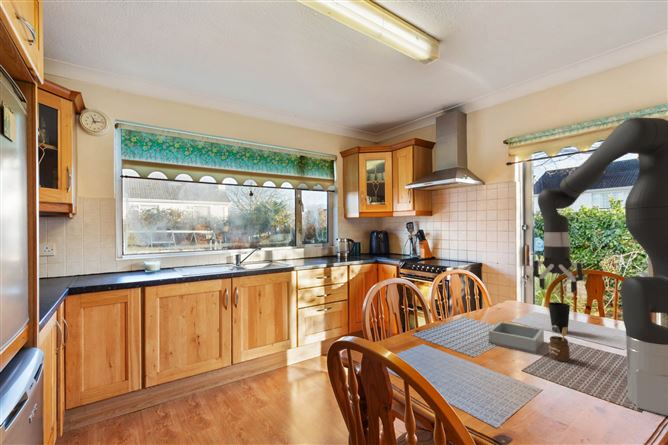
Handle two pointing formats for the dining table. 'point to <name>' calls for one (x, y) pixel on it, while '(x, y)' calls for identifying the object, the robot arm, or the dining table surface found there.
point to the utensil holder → (559, 347)
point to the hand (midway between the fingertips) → (557, 290)
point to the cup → (559, 316)
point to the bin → (517, 337)
